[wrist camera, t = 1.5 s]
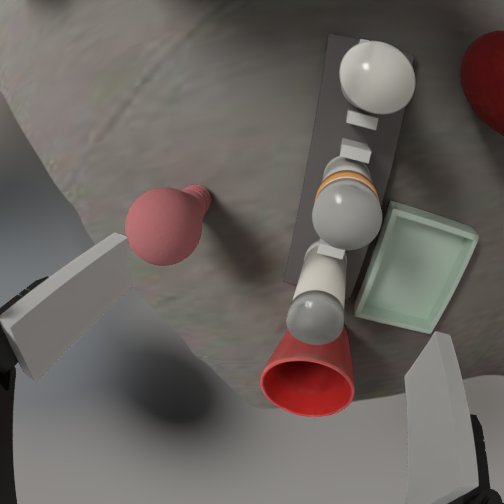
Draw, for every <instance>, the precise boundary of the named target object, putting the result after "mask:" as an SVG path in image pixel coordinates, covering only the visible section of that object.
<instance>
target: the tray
mask: <svg viewBox="0 0 504 504" xmlns="http://www.w3.org/2000/svg"><path fill="white" fill-rule="evenodd" d="M479 237H480V236H479V235H478V234H477V233H476V231H475V230H474V229H473V228H472V227H471V226H468V225H465V224H463V223H460V222H457V221H454V220H451V219H448V218H445V217H442V216H439V215H436V214H433V213H430V212H427V211H424V210H421V209H417V208H414V207H411V206H408V205H404V204H401V203H398V202H394V201H391V200H390V201H389V204H388V208H387V211H386V214H385V218H384V221H383V224H382V227H381V230H380V233H379V236H378V239H377V242H376V245H375V248H374V251H373V254H372V257H371V260H370V263H369V265H368V268H367V271H366V274H365V276H364V279H363V282H362V284H361V287H360V290H359V292H358V295H357V297H356V300H355V303H354V316H355V317H359V318H363V319H367V320H372V321H376V322H380V323H384V324H388V325H393V326H397V327H401V328H406V329H410V330H414V331H419V332H423V333H428V334H431V333H432V331H433V329H434V328H435V326H436V324H437V322H438V321H439V319H440V317H441V315H442V314H443V312H444V310H445V308H446V306H447V305H448V303H449V301H450V299H451V297H452V295H453V293H454V291H455V289H456V287H457V285H458V283H459V281H460V279H461V277H462V275H463V273H464V271H465V269H466V267H467V265H468V262H469V260H470V258H471V256H472V254H473V251H474V249H475V247H476V244H477V242H478V239H479Z"/></svg>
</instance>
